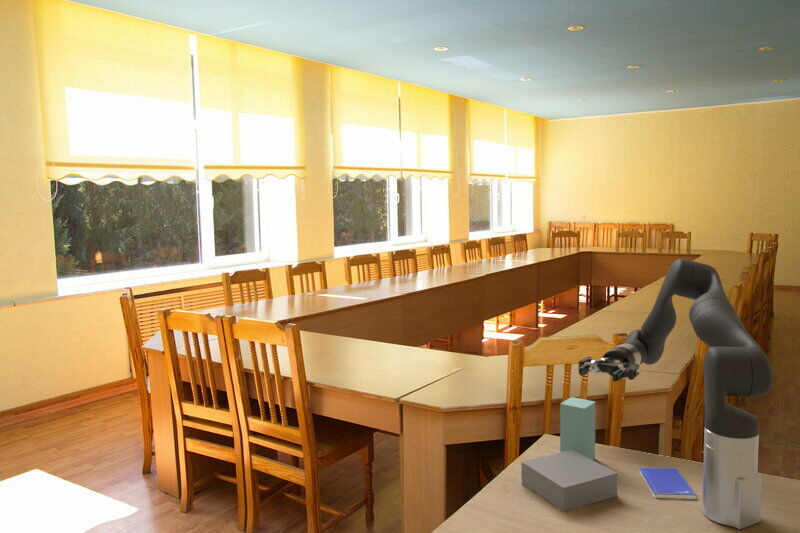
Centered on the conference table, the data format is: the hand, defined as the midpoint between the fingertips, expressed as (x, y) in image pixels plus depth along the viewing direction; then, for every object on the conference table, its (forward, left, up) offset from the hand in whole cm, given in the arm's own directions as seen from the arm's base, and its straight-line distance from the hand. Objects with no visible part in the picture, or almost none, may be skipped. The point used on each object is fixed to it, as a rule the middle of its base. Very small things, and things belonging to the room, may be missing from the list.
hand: (597, 374), depth 157 cm
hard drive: (-24, +2, -19) cm, 30 cm away
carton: (-5, +10, -18) cm, 21 cm away
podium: (-16, +22, -18) cm, 33 cm away
